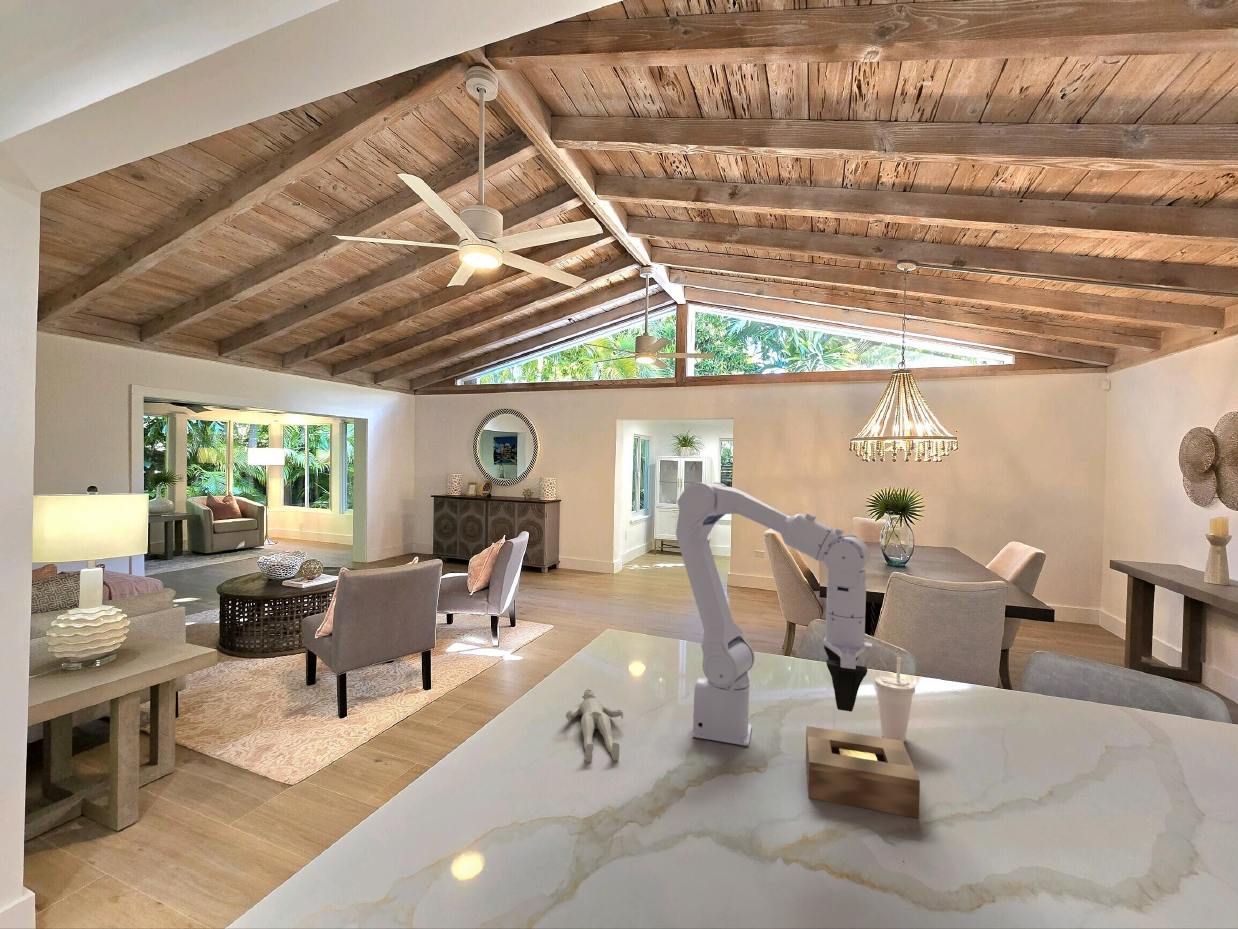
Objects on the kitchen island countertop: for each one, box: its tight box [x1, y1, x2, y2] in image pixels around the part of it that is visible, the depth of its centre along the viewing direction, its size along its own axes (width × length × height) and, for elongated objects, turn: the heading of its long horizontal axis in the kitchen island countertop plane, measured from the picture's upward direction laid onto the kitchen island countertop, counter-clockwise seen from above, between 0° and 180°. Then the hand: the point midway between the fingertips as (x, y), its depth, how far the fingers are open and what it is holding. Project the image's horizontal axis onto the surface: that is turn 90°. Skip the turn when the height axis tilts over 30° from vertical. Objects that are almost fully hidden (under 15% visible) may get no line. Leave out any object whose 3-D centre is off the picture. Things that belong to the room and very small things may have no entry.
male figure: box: [565, 688, 624, 763], centre depth 98 cm, size 10×4×22 cm
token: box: [839, 748, 878, 761], centre depth 82 cm, size 5×2×4 cm, turn 74°
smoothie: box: [874, 657, 916, 743], centre depth 98 cm, size 6×6×14 cm
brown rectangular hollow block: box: [805, 725, 921, 819], centre depth 82 cm, size 14×12×5 cm
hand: (842, 700), depth 88 cm, fingers open, 7 cm apart
